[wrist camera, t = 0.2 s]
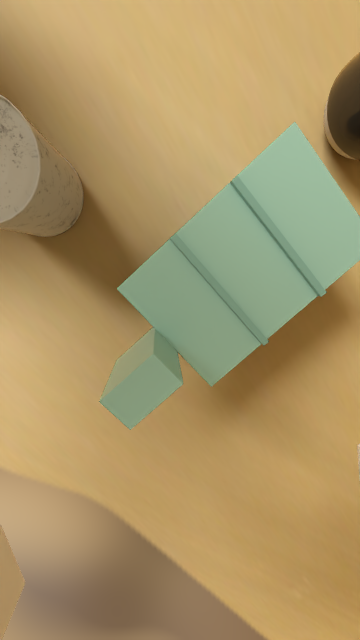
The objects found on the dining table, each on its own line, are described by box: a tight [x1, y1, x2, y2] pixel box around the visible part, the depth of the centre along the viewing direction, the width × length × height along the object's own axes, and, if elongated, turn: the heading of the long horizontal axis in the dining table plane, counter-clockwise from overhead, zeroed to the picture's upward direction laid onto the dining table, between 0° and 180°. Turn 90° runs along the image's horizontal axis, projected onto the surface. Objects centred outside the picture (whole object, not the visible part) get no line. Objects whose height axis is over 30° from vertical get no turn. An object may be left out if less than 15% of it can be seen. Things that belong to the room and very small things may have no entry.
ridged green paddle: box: [99, 122, 360, 430], centre depth 22 cm, size 13×25×8 cm, turn 132°
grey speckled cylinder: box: [0, 95, 83, 237], centre depth 27 cm, size 10×10×12 cm
